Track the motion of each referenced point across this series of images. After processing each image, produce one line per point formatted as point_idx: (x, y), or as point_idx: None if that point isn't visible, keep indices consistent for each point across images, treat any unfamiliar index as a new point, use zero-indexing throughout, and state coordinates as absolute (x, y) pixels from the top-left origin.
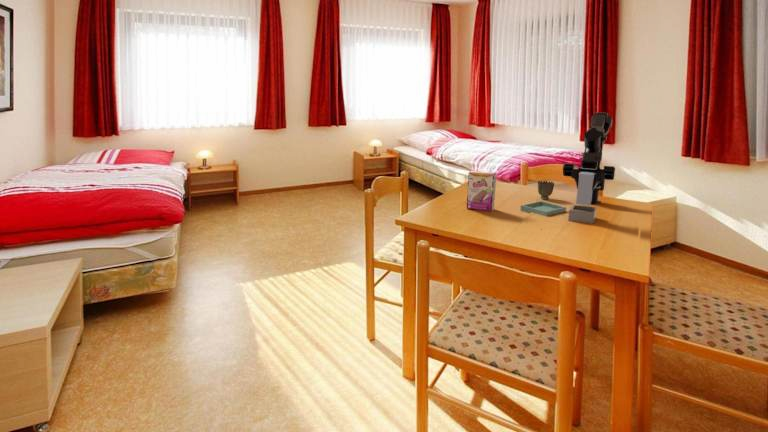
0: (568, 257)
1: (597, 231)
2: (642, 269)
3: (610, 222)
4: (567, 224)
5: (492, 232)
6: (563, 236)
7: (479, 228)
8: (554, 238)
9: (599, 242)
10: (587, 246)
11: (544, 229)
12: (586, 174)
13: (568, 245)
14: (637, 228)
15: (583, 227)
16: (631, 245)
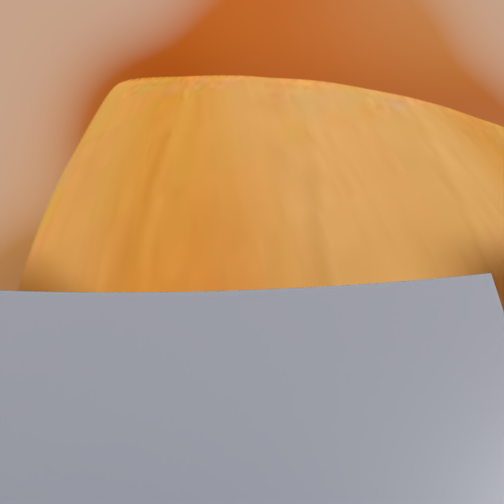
0: (241, 77)
1: (165, 290)
2: (109, 94)
3: None
4: None
5: (462, 140)
6: (288, 173)
7: (500, 157)
8: (308, 147)
9: (166, 172)
10: (203, 132)
11: (378, 215)
12: (197, 299)
13: (255, 120)
14: None
15: None
16: (78, 193)
